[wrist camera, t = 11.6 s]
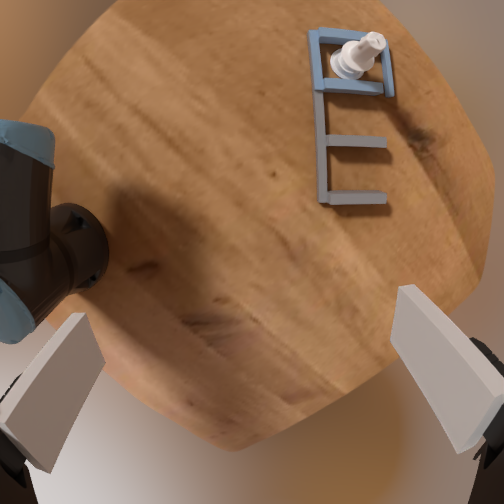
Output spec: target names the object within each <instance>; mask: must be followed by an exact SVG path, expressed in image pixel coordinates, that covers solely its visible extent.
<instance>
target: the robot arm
mask: <svg viewBox="0 0 504 504" xmlns="http://www.w3.org/2000/svg"><path fill="white" fill-rule="evenodd" d="M54 151H55V136H54V134H53V132H52V131H51V130H50V129H48V128H46V127H43V126H39V125H35V124H30V123H24V122H18V121H11V120H3V119H0V342H3V343H6V344H16V343H18V342H20V341H21V340H22V339H23V338H25V337H26V336H27V335H28V334H29V333H32V332H33V331H34V330H35V328H36V327H37V326H38V325H39V324H40V323H41V322H42V321H43V320H44V319H45V318H46V317H47V316H48V315H49V314H50V313H51V312H52V310H53V309H54V308H55V307H56V306H57V305H58V304H59V303H60V302H61V301H62V300H63V299H64V298H65V297H66V296H68V295H71V294H75V293H78V292H82V291H85V290H87V289H89V288H91V287H92V286H93V285H95V284H96V283H97V282H98V281H99V280H100V279H101V277H102V276H103V274H104V273H105V271H106V268H107V264H108V258H109V250H108V243H107V239H106V236H105V233H104V231H103V229H102V227H101V225H100V223H99V222H98V221H97V219H96V218H95V217H94V216H93V215H92V214H91V213H90V212H89V211H88V210H87V209H85V208H83V207H82V206H79V205H77V204H73V203H63V204H60V205H57V206H55V207H52V208H51V192H52V179H53V170H54V169H55V165H54ZM390 342H391V343H392V345H393V347H394V348H395V350H396V351H397V353H398V354H399V356H400V357H401V359H402V360H403V362H404V363H405V365H406V367H407V368H408V370H409V372H410V373H411V374H412V376H413V378H414V380H415V381H416V383H417V384H418V386H419V388H420V389H421V391H422V392H423V394H424V396H425V398H426V399H427V401H428V403H429V404H430V406H431V408H432V409H433V411H434V413H435V415H436V416H437V418H438V420H439V422H440V423H441V425H442V427H443V429H444V430H445V432H446V434H447V436H448V438H449V439H450V441H451V443H452V445H453V447H454V449H455V451H456V452H457V454H460V453H461V452H464V451H465V450H467V449H469V448H471V447H473V446H475V445H476V443H477V442H478V441H479V439H480V438H481V437H482V435H483V436H484V437H485V439H486V442H485V443H484V444H483V445H482V447H481V448H480V449H479V450H478V452H477V453H476V454H475V456H474V458H473V460H476V459H477V458H478V456H479V455H480V454H481V457H480V460H479V461H480V462H479V466H478V470H477V474H476V478H475V482H474V485H473V489H472V492H471V495H470V499H469V501H468V504H504V364H503V363H502V362H501V361H499V359H498V358H497V357H496V356H495V355H494V354H492V351H491V350H490V349H489V348H488V347H487V346H486V345H485V344H484V343H482V342H481V341H479V340H477V339H475V338H473V337H472V338H468V337H466V335H464V333H463V332H462V331H461V330H460V329H459V328H458V327H457V326H456V325H455V324H454V323H453V322H452V321H451V320H450V319H449V318H448V317H447V316H446V315H445V314H444V313H443V312H442V311H441V310H440V309H439V308H438V307H437V306H436V305H435V304H434V303H433V302H432V301H431V300H430V299H429V298H428V297H427V296H426V295H425V294H424V293H423V292H422V291H421V290H419V289H418V288H417V287H416V286H415V285H414V284H412V285H406V286H399V287H398V294H397V301H396V308H395V314H394V320H393V326H392V332H391V337H390ZM105 363H106V362H105V360H104V357H103V355H102V353H101V350H100V348H99V346H98V343H97V341H96V338H95V336H94V333H93V331H92V328H91V326H90V323H89V320H88V318H87V315H86V313H72V314H71V315H70V316H69V318H68V319H67V320H66V321H65V322H64V323H63V324H62V326H61V327H60V328H59V329H58V330H57V331H56V333H55V334H54V335H53V336H52V337H51V339H50V340H49V341H48V342H47V343H46V344H45V346H44V347H43V348H42V350H41V351H40V352H39V353H38V354H37V356H36V357H35V358H34V359H33V361H32V362H31V363H30V365H29V366H28V367H27V368H26V370H25V371H24V372H23V373H22V374H20V375H19V376H18V377H17V378H16V379H15V380H14V381H13V383H12V384H11V385H10V388H8V390H7V391H6V392H5V395H3V396H2V398H1V399H0V504H38V501H37V498H36V495H35V492H34V488H33V484H32V481H31V477H30V473H29V470H28V467H27V466H26V465H25V464H24V463H25V461H26V459H27V460H28V461H29V462H30V463H31V464H32V465H33V466H34V467H35V468H37V469H40V470H42V471H45V472H47V473H51V472H52V469H53V467H54V464H55V462H56V460H57V458H58V456H59V453H60V451H61V449H62V447H63V445H64V442H65V440H66V438H67V436H68V434H69V432H70V430H71V428H72V426H73V424H74V422H75V420H76V418H77V416H78V414H79V412H80V410H81V408H82V406H83V404H84V402H85V400H86V398H87V396H88V394H89V392H90V390H91V389H92V387H93V385H94V383H95V381H96V379H97V377H98V375H99V374H100V372H101V370H102V368H103V366H104V365H105Z"/></svg>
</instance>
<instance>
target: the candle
mask: <svg viewBox="0 0 504 504" xmlns="http://www.w3.org/2000/svg"><path fill="white" fill-rule="evenodd" d="M385 47H386V40H385V38H384V36H383V35H382V34H379V33H376V32H370V33H368V34H367V35H366V36H365V37H362V38H361V40H360V42H359V41H349V42H347V43H345V44H344V45H343V47H342V49H338V50H336V51H335V52H334V53H333V54H332V56H331V59H330V63H331V67H332V69H333V71H334V72H335V73H336V74H337V75H338V76H339V77H341V78H342V79H351V80H357V79H359V78H360V77H361V76H362V75H363V73H364V71H367V70H369V69H371V68H372V66H373V64H374V57H377V55H378V54H379V53H381V52H382V51H383V50H384V49H385Z"/></svg>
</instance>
